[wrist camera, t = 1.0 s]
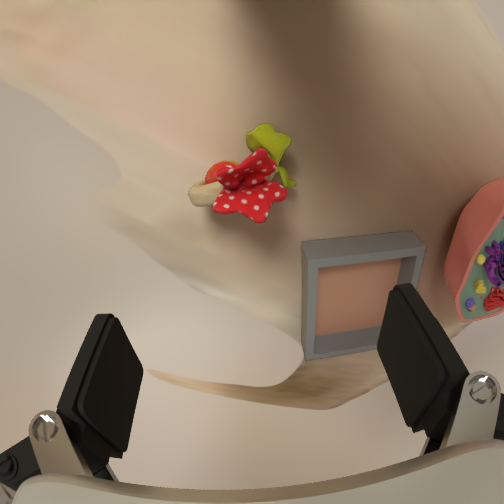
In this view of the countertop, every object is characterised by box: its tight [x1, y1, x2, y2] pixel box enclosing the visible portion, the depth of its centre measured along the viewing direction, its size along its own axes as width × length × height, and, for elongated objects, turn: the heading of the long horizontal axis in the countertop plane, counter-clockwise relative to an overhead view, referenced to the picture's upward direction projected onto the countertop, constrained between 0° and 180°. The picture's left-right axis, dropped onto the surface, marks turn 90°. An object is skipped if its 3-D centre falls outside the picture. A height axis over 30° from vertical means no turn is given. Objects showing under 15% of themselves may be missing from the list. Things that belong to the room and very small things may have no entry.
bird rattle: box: [188, 123, 296, 223], centre depth 23 cm, size 6×11×9 cm
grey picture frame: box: [301, 231, 426, 361], centre depth 34 cm, size 15×13×4 cm
